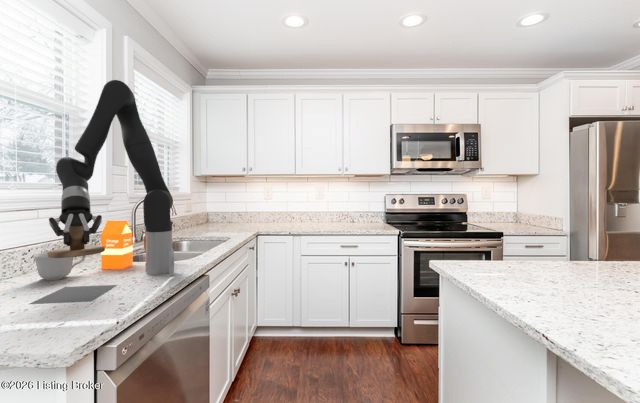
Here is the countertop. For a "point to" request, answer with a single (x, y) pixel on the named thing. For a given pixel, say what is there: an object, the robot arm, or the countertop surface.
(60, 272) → the teacup
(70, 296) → the rubber mat
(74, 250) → the walnut lid
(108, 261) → the orange juice
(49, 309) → the countertop surface
